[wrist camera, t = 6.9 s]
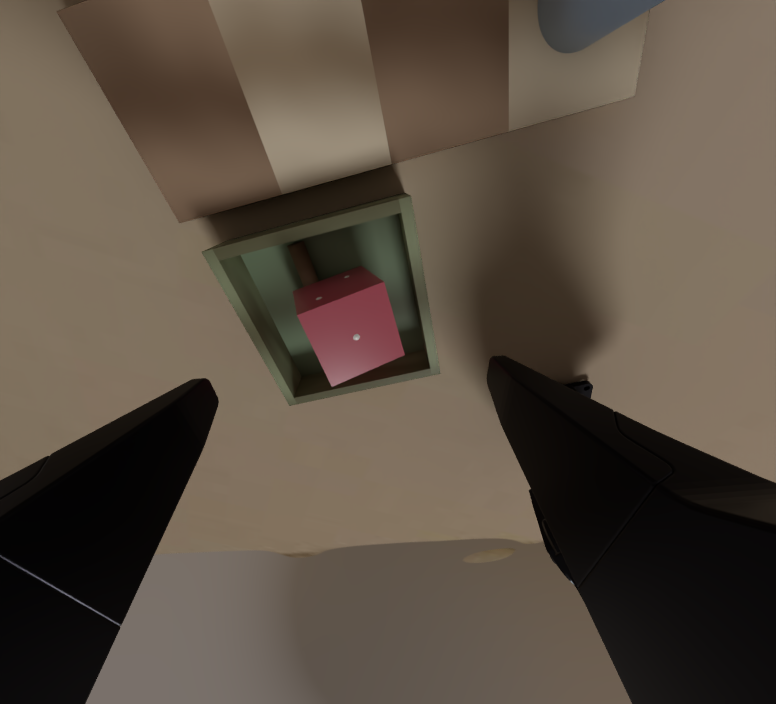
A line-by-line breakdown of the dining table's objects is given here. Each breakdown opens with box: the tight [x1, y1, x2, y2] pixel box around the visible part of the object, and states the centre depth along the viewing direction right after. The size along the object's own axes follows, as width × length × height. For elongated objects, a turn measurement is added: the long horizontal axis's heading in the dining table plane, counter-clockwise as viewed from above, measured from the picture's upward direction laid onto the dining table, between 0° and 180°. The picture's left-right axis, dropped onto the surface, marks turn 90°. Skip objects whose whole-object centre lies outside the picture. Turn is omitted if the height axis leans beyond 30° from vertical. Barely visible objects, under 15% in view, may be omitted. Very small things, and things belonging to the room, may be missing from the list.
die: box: [293, 266, 405, 387], centre depth 17 cm, size 4×4×5 cm
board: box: [57, 0, 650, 223], centre depth 13 cm, size 8×24×1 cm, turn 103°
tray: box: [202, 193, 440, 406], centre depth 18 cm, size 11×11×3 cm
